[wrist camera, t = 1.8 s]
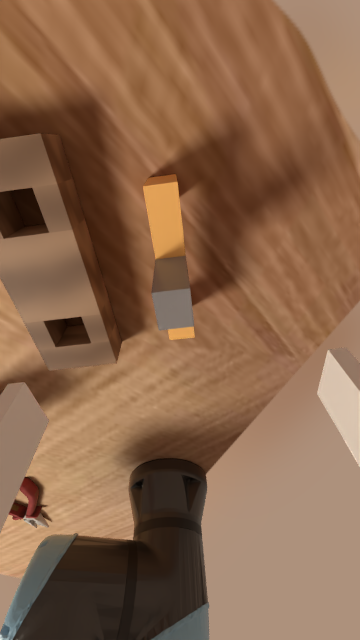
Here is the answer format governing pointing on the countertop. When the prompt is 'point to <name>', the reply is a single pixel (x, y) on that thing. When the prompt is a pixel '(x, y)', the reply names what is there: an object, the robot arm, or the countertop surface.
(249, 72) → the countertop surface
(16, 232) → the brown slotted wooden block
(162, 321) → the orange bar with post
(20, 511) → the pliers
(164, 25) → the countertop surface
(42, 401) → the countertop surface
